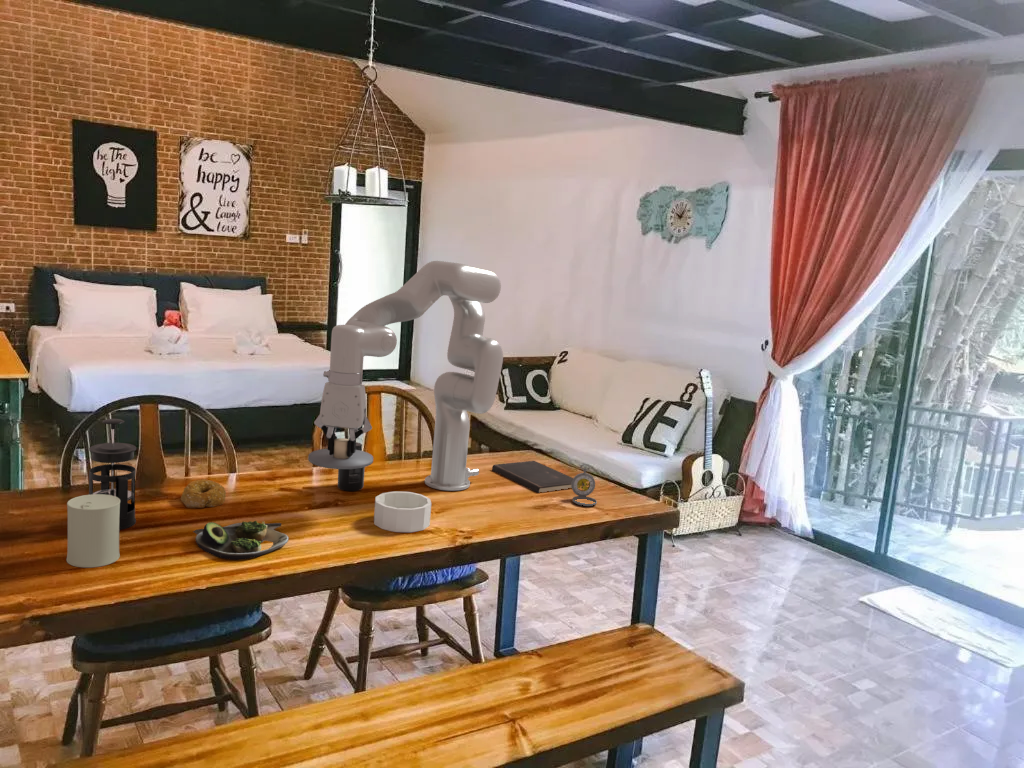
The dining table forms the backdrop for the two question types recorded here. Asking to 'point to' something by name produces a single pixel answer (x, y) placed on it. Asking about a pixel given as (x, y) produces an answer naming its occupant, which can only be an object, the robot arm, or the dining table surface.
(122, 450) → the french press
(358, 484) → the supplement bottle
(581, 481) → the pocket watch
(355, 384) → the robot arm
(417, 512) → the bowl
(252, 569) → the dining table surface
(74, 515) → the can
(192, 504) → the bagel
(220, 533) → the salad plate
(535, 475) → the hardcover book
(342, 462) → the lid
